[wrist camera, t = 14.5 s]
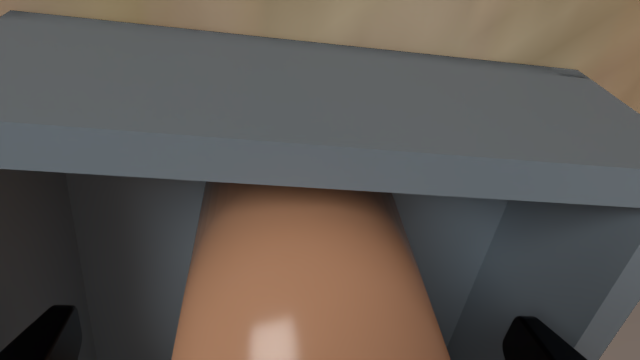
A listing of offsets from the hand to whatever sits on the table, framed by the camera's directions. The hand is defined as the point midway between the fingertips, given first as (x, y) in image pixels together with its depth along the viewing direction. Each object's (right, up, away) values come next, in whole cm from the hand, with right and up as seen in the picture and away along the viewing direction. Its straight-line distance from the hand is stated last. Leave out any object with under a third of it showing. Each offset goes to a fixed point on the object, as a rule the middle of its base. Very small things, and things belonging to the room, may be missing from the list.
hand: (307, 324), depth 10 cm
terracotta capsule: (0, +2, +3) cm, 4 cm away
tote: (-1, -1, +6) cm, 7 cm away
